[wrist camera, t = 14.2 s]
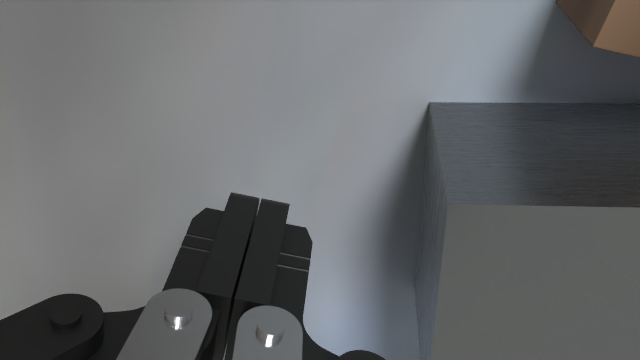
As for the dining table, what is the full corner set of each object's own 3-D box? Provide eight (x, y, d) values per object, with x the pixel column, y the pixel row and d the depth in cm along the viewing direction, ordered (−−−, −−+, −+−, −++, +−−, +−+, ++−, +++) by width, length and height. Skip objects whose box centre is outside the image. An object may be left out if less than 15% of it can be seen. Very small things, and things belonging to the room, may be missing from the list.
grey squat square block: (414, 284, 21) (425, 410, 17) (429, 99, 17) (447, 204, 13) (624, 290, 20) (689, 421, 16) (688, 101, 16) (797, 210, 12)
